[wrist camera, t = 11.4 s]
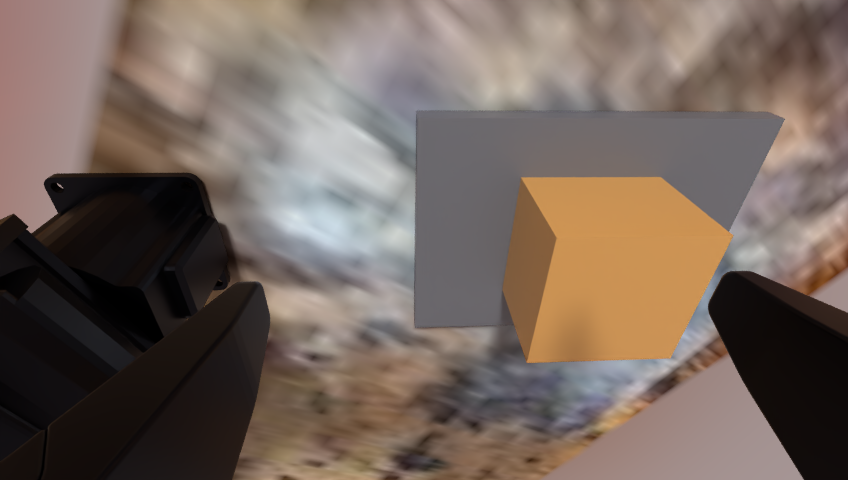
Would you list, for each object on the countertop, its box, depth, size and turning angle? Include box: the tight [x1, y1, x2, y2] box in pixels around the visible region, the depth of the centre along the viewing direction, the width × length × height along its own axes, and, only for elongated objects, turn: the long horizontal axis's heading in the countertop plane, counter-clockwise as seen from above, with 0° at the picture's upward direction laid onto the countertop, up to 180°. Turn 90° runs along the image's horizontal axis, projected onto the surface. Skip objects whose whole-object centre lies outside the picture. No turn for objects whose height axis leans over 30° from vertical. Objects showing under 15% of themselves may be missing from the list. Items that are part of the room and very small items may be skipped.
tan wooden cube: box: [502, 177, 733, 363], centre depth 19 cm, size 7×7×5 cm
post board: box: [414, 111, 785, 328], centre depth 20 cm, size 16×12×4 cm
